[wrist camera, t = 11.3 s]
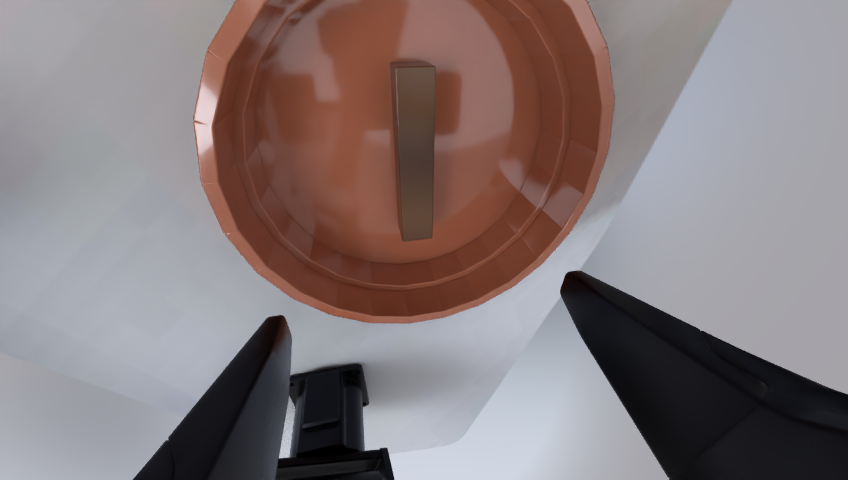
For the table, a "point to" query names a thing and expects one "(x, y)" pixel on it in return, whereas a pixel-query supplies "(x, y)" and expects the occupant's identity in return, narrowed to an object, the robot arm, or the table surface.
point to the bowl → (374, 145)
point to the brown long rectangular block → (414, 146)
